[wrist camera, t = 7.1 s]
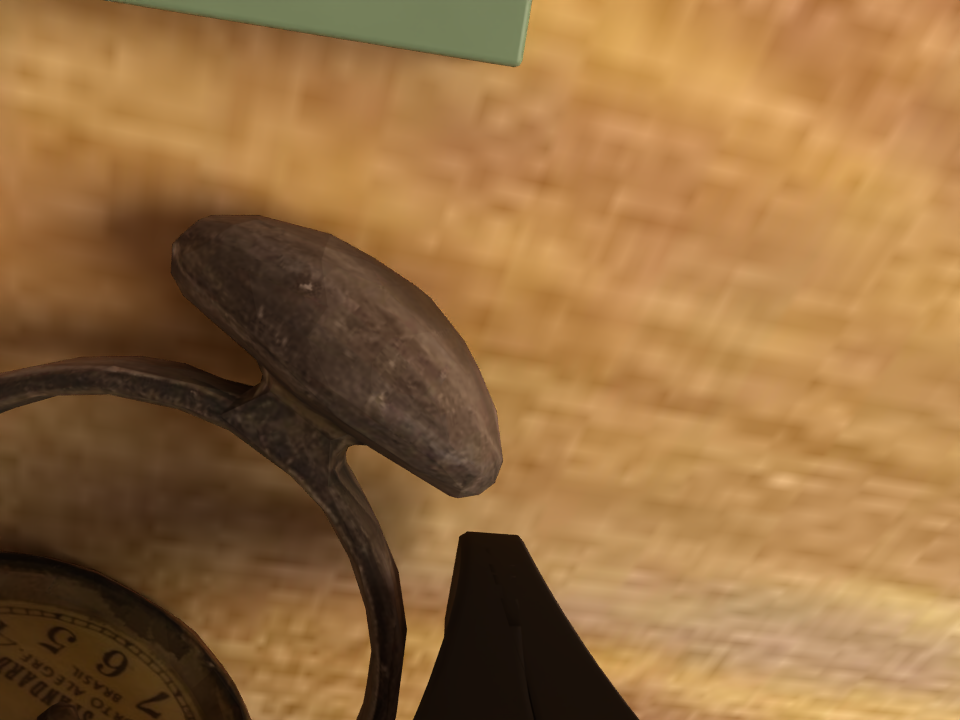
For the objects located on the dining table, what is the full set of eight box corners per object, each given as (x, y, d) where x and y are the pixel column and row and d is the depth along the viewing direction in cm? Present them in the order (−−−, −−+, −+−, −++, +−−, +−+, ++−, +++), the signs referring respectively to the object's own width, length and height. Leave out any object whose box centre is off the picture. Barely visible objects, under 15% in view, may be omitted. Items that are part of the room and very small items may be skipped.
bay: (390, 815, 16) (387, 888, 15) (-150, 805, 14) (-208, 885, 13) (518, -6, 9) (535, -13, 7) (-531, -193, 7) (-750, -242, 6)
